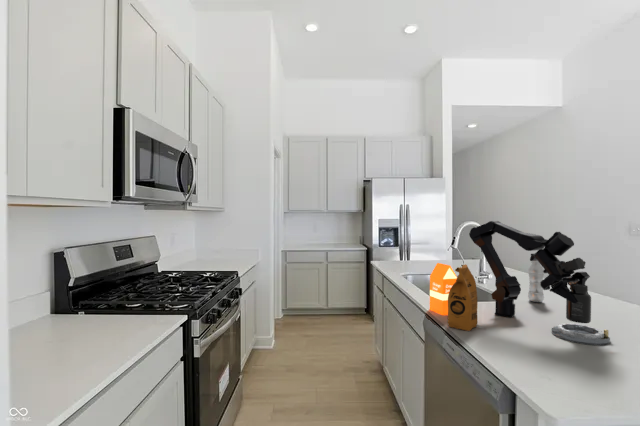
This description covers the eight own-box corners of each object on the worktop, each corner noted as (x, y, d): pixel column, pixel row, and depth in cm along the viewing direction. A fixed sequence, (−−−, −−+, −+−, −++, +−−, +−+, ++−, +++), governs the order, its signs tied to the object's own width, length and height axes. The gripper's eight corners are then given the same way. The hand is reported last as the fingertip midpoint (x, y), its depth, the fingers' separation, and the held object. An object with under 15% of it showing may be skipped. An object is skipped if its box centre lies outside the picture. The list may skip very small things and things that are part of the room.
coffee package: (442, 326, 131) (443, 266, 131) (454, 319, 140) (454, 262, 140) (471, 332, 124) (471, 269, 124) (481, 324, 134) (481, 265, 134)
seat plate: (549, 337, 120) (549, 327, 120) (553, 325, 132) (553, 316, 132) (611, 349, 110) (611, 337, 110) (608, 334, 123) (608, 324, 123)
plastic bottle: (541, 300, 170) (542, 258, 170) (545, 304, 163) (546, 260, 163) (526, 299, 172) (526, 258, 172) (529, 303, 165) (529, 259, 165)
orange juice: (444, 308, 156) (444, 262, 156) (458, 313, 148) (458, 265, 148) (429, 309, 154) (429, 263, 153) (442, 315, 145) (442, 266, 145)
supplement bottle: (596, 323, 118) (597, 286, 118) (580, 324, 116) (580, 287, 116) (576, 316, 125) (577, 282, 124) (560, 318, 123) (561, 283, 123)
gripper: (549, 250, 120) (584, 291, 110) (584, 248, 127) (619, 286, 117) (527, 270, 127) (557, 309, 117) (561, 267, 135) (593, 304, 125)
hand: (582, 301), depth 119 cm, fingers closed on supplement bottle, 7 cm apart
